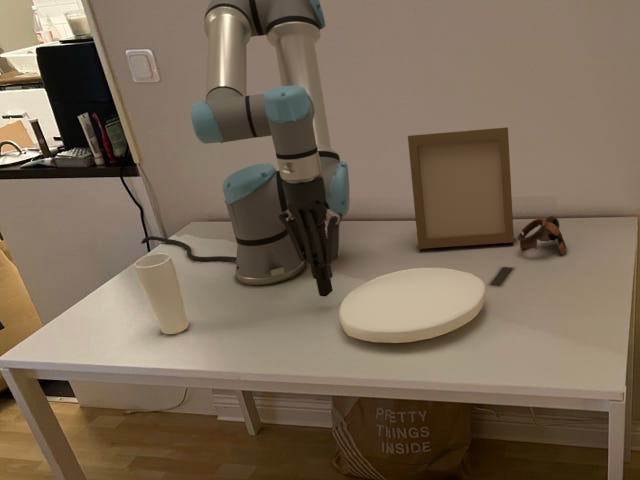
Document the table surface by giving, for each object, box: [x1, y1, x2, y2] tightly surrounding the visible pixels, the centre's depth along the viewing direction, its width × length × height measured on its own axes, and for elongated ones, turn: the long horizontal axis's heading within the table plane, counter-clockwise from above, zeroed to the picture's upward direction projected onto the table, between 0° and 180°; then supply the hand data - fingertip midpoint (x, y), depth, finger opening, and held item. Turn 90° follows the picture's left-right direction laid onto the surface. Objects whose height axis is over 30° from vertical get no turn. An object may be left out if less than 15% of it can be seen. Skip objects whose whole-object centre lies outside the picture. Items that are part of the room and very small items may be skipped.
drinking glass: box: [134, 252, 189, 335], centre depth 139 cm, size 7×7×15 cm
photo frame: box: [407, 126, 515, 250], centre depth 163 cm, size 15×22×25 cm
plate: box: [338, 267, 487, 344], centre depth 136 cm, size 28×6×27 cm
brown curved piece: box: [517, 215, 567, 256], centre depth 158 cm, size 12×10×8 cm
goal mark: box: [490, 266, 513, 286], centre depth 149 cm, size 2×8×1 cm, turn 158°
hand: (326, 293), depth 143 cm, fingers closed
